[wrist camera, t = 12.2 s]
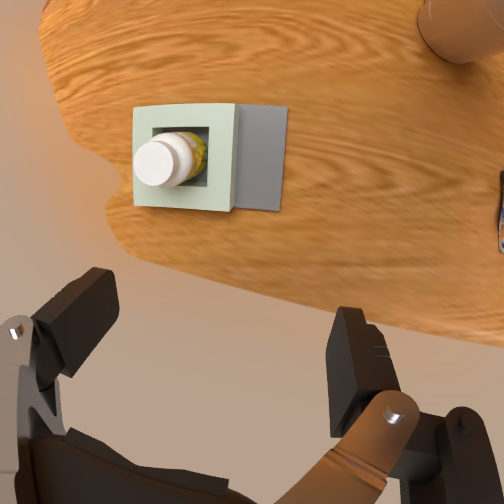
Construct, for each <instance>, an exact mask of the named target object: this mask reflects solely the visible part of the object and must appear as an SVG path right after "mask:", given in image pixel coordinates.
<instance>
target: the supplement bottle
mask: <svg viewBox="0 0 504 504" xmlns="http://www.w3.org/2000/svg"><path fill="white" fill-rule="evenodd" d="M207 164H208V145H207V143H206V141H205V140H204V139H203V138H202V137H201V136H200V135H198V134H196V133H193V132H171V133H162V134H158V135H156V136H154V137H153V138H151V139H150V140H149V141H148V142H147V143H145V144H144V145H142V146H141V147H140V148H139V149H138V151H137V152H136V154H135V157H134V162H133V166H134V171H135V174H136V176H137V177H138V179H139V180H140V181H141V182H142V183H144V184H146V185H149V186H159V187H173V186H176V185H178V184H180V183H182V182H184V181H186V180H188V179H190V178H192V177H194V176H196V175H198V174H199V173H201V172H202V171H203V170H204V169H205V167H206V166H207Z"/></svg>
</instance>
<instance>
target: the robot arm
mask: <svg viewBox="0 0 504 504" xmlns="http://www.w3.org/2000/svg"><path fill="white" fill-rule="evenodd" d="M417 21H418V27H419V30H420V32H421V35H422V37H423V38H424V40H425V41H426V43H427V44H428V45H429V47H430V48H431V49H432V50H433V51H434V52H435V53H436V54H437V55H439V56H440V57H442V58H443V59H445V60H447V61H449V62H451V63H455V64H464V63H468V62H471V61H474V60H478V59H482V58H486V57H489V56H493V55H497V54H501V53H504V0H425V5H424V6H422V7H421V8H420V10H419V12H418V16H417ZM118 315H119V301H118V295H117V288H116V282H115V276H114V273H113V272H112V271H111V270H108V269H103V268H98V267H93V268H91V269H90V270H89V271H87V272H86V273H85V274H84V275H83V276H81V277H80V278H78V279H76V280H74V281H72V282H70V283H69V284H67V285H66V286H65V287H64V288H63V289H62V290H61V292H60V291H59V292H58V293H57V294H56V295H55V297H53V298H51V299H50V300H49V301H48V302H47V303H46V304H45V305H44V306H42V307H41V308H40V309H39V310H38V311H37V312H36V313H35V314H34V315H32V316H31V317H30V318H29V317H28V316H24V315H18V316H14V317H11V318H9V319H8V320H6V321H5V322H4V323H3V324H2V325H1V326H0V504H257V503H256V502H254V501H252V500H251V499H249V498H248V497H246V496H244V495H242V494H240V493H238V492H236V491H233V490H231V489H229V488H228V482H229V479H224V478H219V477H214V476H209V475H205V474H200V473H195V472H191V471H187V470H180V469H163V468H152V467H143V466H138V465H135V464H133V463H132V462H130V461H129V460H127V459H126V458H124V457H123V456H122V455H120V454H118V453H117V452H116V451H114V450H113V449H111V448H110V447H109V446H107V445H106V444H105V443H103V442H101V441H99V440H97V439H95V438H92V437H90V436H88V435H86V434H84V433H82V432H80V431H78V430H75V429H73V428H71V427H70V429H69V430H68V432H67V434H66V431H65V429H64V426H63V421H62V412H61V403H60V390H59V381H58V379H57V376H58V375H59V373H61V374H64V375H66V376H68V377H70V378H72V377H73V376H74V375H75V373H76V372H77V370H78V369H79V368H80V366H81V365H82V364H83V362H84V361H85V360H86V359H87V357H88V356H89V355H90V353H91V352H92V351H93V349H94V348H95V347H96V346H97V344H98V343H99V342H100V341H101V339H102V338H103V337H104V335H105V334H106V333H107V332H108V330H109V329H110V328H111V327H112V325H113V324H114V323H115V322H116V320H117V318H118ZM326 369H327V381H328V397H329V414H330V435H331V437H332V438H333V437H334V438H342V439H341V440H340V441H339V442H338V443H337V445H336V446H335V447H334V448H333V449H330V450H329V451H328V452H327V453H326V454H325V455H324V456H323V457H322V458H321V459H320V460H319V461H318V462H317V463H316V464H315V465H314V466H313V467H312V468H311V469H310V470H309V471H308V472H307V473H306V474H305V475H304V476H303V477H302V478H301V479H300V480H299V481H298V482H297V483H296V484H295V485H294V486H293V487H292V488H291V489H290V490H289V491H287V492H286V493H285V494H284V495H283V496H282V497H281V498H280V499H279V500H277V501H276V502H275V503H274V504H374V503H375V502H376V500H377V499H378V498H379V496H380V495H381V493H382V492H383V490H384V488H385V487H386V484H387V481H386V478H387V477H391V478H396V479H400V494H401V504H504V497H503V492H502V487H501V482H500V478H499V474H498V470H497V465H496V462H495V458H494V454H493V451H492V447H491V444H490V441H489V437H488V434H487V431H486V428H485V425H484V422H483V420H482V418H481V417H480V416H479V415H478V413H477V412H475V411H474V410H472V409H470V408H468V407H456V408H454V409H452V410H451V411H450V412H449V413H448V414H447V416H446V417H441V416H436V415H431V414H427V413H423V412H420V411H419V408H418V406H417V404H416V402H415V401H414V400H413V399H412V398H411V397H410V396H408V395H407V394H405V393H403V392H401V389H400V386H399V383H398V379H397V376H396V373H395V369H394V366H393V363H392V360H391V358H390V354H389V351H388V349H387V345H386V342H385V339H384V336H383V334H382V333H381V332H380V331H379V330H378V329H377V327H376V326H375V325H372V324H367V323H366V320H365V317H364V314H363V311H362V309H361V308H352V307H342V306H340V307H339V308H338V310H337V313H336V317H335V320H334V323H333V327H332V330H331V333H330V336H329V339H328V343H327V348H326Z"/></svg>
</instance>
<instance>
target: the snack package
mask: <svg viewBox="0 0 504 504" xmlns="http://www.w3.org/2000/svg"><path fill="white" fill-rule="evenodd" d="M501 179H502V184H503V202H502V210H501V217H500V223H499V233H500V230H501V227H502V225H503V222H504V171H501ZM502 246H503V248H501V247H500V240H499V247H500V250H501V251H502V252H503V253H504V239H503V240H502Z"/></svg>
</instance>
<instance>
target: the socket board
mask: <svg viewBox="0 0 504 504" xmlns="http://www.w3.org/2000/svg"><path fill="white" fill-rule="evenodd" d="M287 111H288V107H283V106H269V105H250V104H231V103H199V104H172V105H156V106H144V107H134V110H133V162H134V157H135V154H136V152H137V151H138V149H139V148H140V147H141V146H142V145H144V144H145V143H147V142H148V141H149V140H150V139H151V138H153V137H154V136H156V135H158V134H162V133H171V132H193V133H196V134H198V135H200V136H201V137H202V138H203V139H204V140H205V141H206V143H207V145H208V164H207V166H206V167H205V169H204V170H203V171H202V172H201V173H199V174H198V175H196V176H194V177H192V178H190V179H188V180H186V181H184V182H182V183H180V184H178V185H176V186H173V187H159V186H149V185H146V184H144V183H142V182H141V181H140V180H139V179H138V177H137V176H136V174H135V171H134V166H133V194H134V205H137V206H156V207H172V208H187V209H201V210H214V211H227V212H230V210H231V209H232V208H233V207H238V208H250V209H261V210H272V211H279V210H280V200H281V188H282V176H283V164H284V152H285V138H286V125H287Z"/></svg>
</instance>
